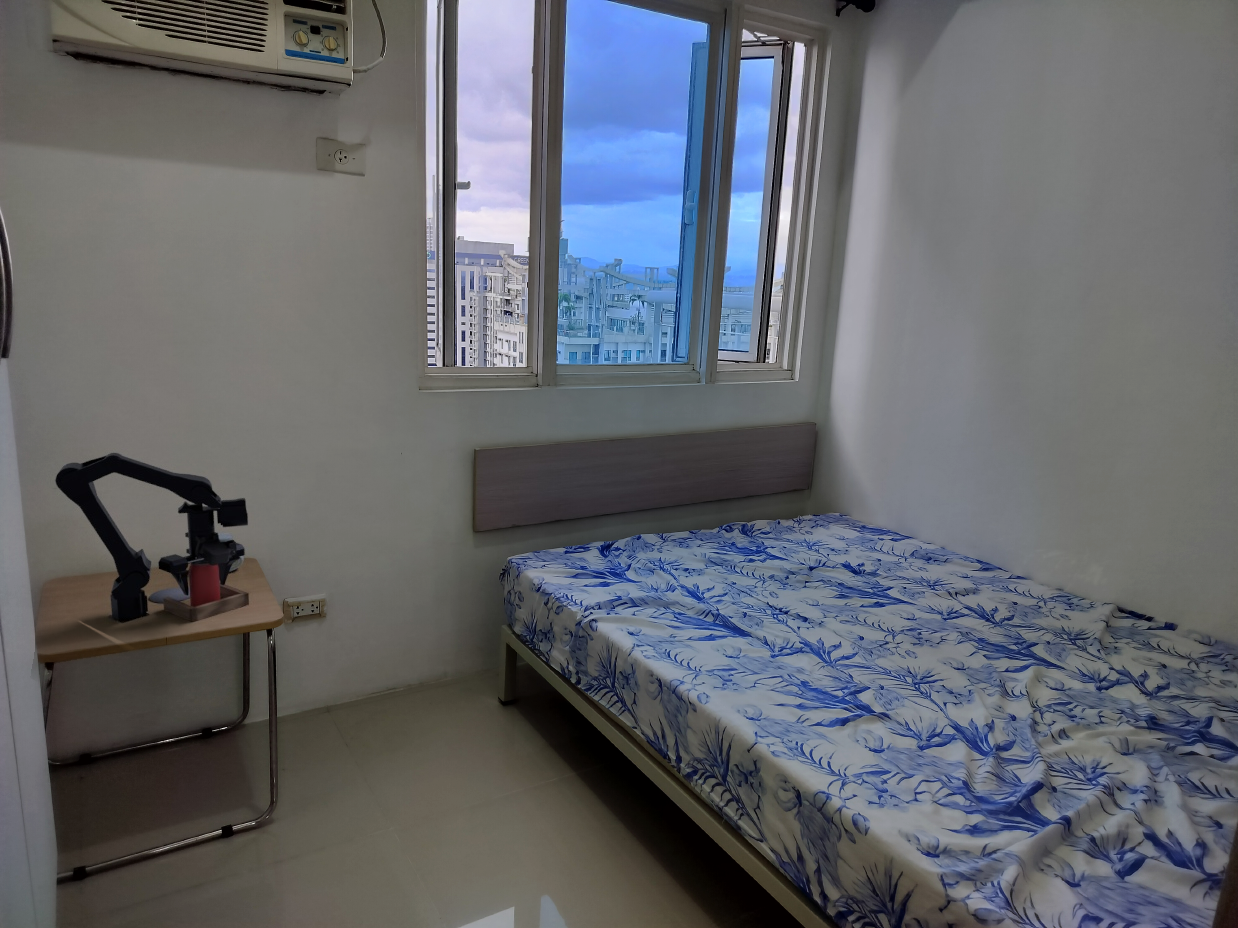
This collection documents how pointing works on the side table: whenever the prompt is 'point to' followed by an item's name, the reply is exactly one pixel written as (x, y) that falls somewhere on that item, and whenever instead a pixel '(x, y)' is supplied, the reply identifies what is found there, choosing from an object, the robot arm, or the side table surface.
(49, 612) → the side table surface
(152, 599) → the coaster
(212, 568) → the beer can
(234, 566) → the air freshener
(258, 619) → the side table surface
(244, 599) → the tray
